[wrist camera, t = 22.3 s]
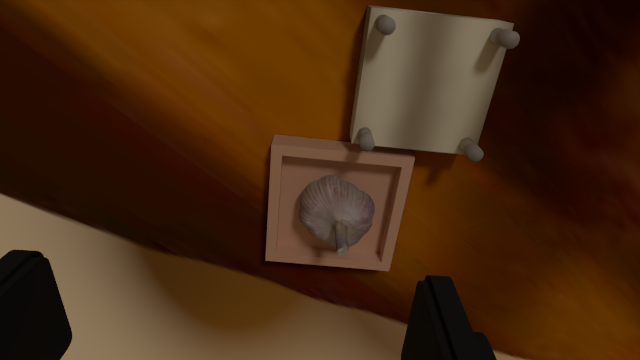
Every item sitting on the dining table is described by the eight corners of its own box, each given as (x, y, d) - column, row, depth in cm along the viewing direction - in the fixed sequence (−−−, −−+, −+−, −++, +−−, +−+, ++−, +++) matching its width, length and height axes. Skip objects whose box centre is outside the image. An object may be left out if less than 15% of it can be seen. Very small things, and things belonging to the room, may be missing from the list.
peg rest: (498, 20, 33) (529, 26, 28) (463, 143, 38) (484, 167, 33) (367, 5, 32) (375, 9, 28) (349, 131, 37) (353, 154, 32)
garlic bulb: (377, 226, 41) (389, 278, 34) (308, 238, 42) (305, 291, 35) (366, 161, 38) (376, 203, 31) (291, 175, 39) (284, 219, 31)
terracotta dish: (409, 147, 38) (415, 158, 36) (385, 256, 44) (389, 271, 42) (274, 134, 37) (271, 144, 35) (268, 246, 43) (265, 260, 41)
